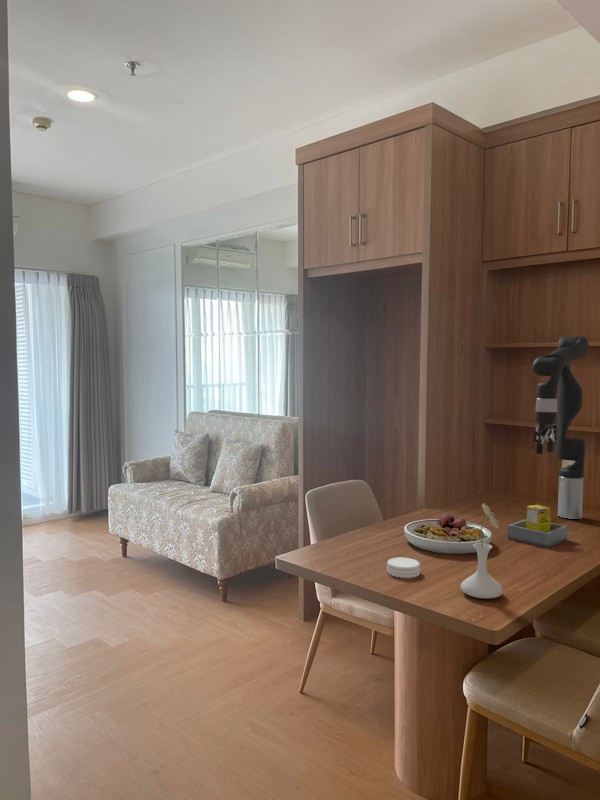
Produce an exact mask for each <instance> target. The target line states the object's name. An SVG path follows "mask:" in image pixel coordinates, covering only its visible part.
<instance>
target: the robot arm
mask: <svg viewBox="0 0 600 800" xmlns="http://www.w3.org/2000/svg"><path fill="white" fill-rule="evenodd" d="M589 347H590V345H589V341H588V338H587V337H586V336H582V335H574V336H573V335H571V336H562V337H560V338H559V340H558V343H557V349H555V350H554V351H552V352H550V353H549V354H544V355H541V356H538V357H536V358H535V359H534V361H533V363H532V372H533V373H534V374H535V375H536V376H538V377H539V376H540V377H550V378H549V380H548V381H544V382H540V383H538V384H537V386H536V402H535V417H534V419H535V423H537V424H538V426H534V427H533V438H532V442H533V443H535V444H536V446H535V447H536V449H535V451H536V454H538V455H543V453H544V442H545V440H546V441H547V442H546V451H547V452H548V453H553V452H554V446H556V447H555V453H556V457H557V459H558V460H560V461H574V462H573V463H572V464H571V465H568V466H565V467H562V468H560V469H559V472H558V494H557V495H558V499H557V500H558V501H557V517H558V516H560V517H563V518H568V519H580V520H582V519H583V503H584V502H583V500H584V498H583V497H584V474H585V473H584V472H585V471H584V469H585V459H586V458H585V457H586V442H585V440H584V438H580V437H566V436H567V433H568V432H567V431H568V430H569V427H570V425H571V424H572V423H573V420H575V418H576V417H577V416H578V414H579V413H580V412H581V409H582V408H583V389H582V386H581V385H580V383H579V382H578V380H577V378H576V377H575V375H574V374H573V372H572V370H571V367H570V363H572V362H574V361H576V360H579V359H583V358H585V357H586V356H587V355H588V353H589V350H590V348H589ZM555 442H556V445H554V443H555ZM581 518H582V519H581Z"/></svg>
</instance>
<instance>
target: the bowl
mask: <svg viewBox="0 0 600 800" xmlns="http://www.w3.org/2000/svg"><path fill="white" fill-rule="evenodd" d="M481 527H482V525H479V524H476V523H473V522H472V523H471V522H468V521H466V519H464V518H463V517H458V518H457V519H455V518H454V516H453V515H452V514H450V513H445V514H442V515H440V518H436V519H435V518H434V519H432V518H431V519H420V520H414V521H412V522H409V523H407V524H405V526H404V529H403V530H404V531H403V532H404V535H405V538H406V540H407V541H408V542H409V543H410V544H411V545H413V546H414V547H417V548H419V549H421V550H424V551H427V550H428V552H431V551H432V552H431V553H438V554H447V555H465V554H466V555H467V553H468V554H473V553H477V551H476V549H475V547H474V546H473V545H474V544H476V543H481V540H480V539H481V537H480V531H479V529H480V530H481ZM482 535H483V537H482V538H484V537H485V536H486V535H487V536H488V538H486V539H484V540H482V543H485V544H489V545H490V543H491V540H492V532H491V531H490V530H489V529H488V528H486V527H484V526H483V528H482Z"/></svg>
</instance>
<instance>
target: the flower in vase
mask: <svg viewBox="0 0 600 800" xmlns="http://www.w3.org/2000/svg"><path fill="white" fill-rule="evenodd" d="M481 507H482V510H483V512H484V514H485V518H484V521H483V523H482V524H481V526H482V527H481V530H480V529H479V531H480V537H481V539H480V540H481V543H476V544H474V545H473V546H474V547H475V549H476V551H477V552H476V554H477V569H476V572H474V573H473V574H471V575H470V576H468V577H467V578H465V579H464V580H463V581H462V582H461V584H460V589H461V591H462V592H463V593H464V594H466V595H468V596H470V597H473V598H477V599H486V600H490V599H496V598H499V597H500V596H501V595H502V594H503V593H504V589H503V587H502V586H501V584H500V583H499V582H498V581H497V580H496V579H494V577H492V576H491V574H489V573H488V570H487V563H488V562H487V560H488V555H489V553H490V551H491V550H492V548H493V546H492V545H491V544H490V543H489V544H485V543H482V540H484V539H486V538H488V536H487V535H486V536H485V537H484V538H482V537H483V535H482V528H483V527H484V526H485V523H486V521H487V520H488V521H489V522H490V524H491V525H492V526H493V527H494V528H495V529H496V530H497V529H500V526H499V522H498V520H497V519H496V518H495V514H494V512H491V509H490V507H489V506H488V505H486V503H485V502H484V503H482V504H481Z"/></svg>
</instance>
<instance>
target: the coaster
mask: <svg viewBox="0 0 600 800" xmlns="http://www.w3.org/2000/svg"><path fill="white" fill-rule="evenodd" d="M386 564H387V566H386V568H387V569H386V571H387V574H388V575H390V576H392V577H394V576H395V578H399V577H400V579H413V577H414V578H417V577H419V576H420V574H421V563H420V562H419V560H416V559H413V558H410V557H403V556H402V557H393V558H389V559H388V560H387V563H386Z"/></svg>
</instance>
